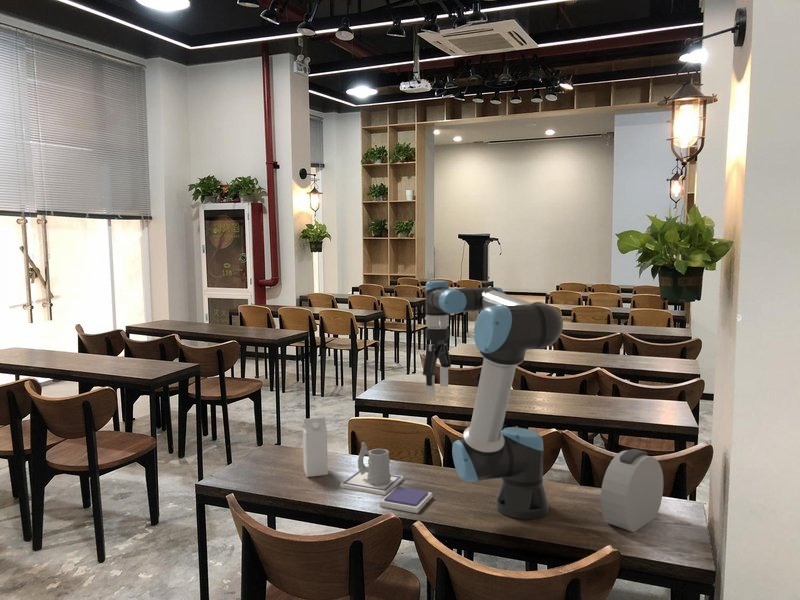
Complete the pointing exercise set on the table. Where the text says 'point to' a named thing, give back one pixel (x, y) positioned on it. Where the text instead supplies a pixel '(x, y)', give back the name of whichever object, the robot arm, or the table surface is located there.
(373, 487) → the board
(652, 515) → the alarm clock
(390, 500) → the ink pad
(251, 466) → the table surface
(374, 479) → the mug
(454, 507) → the table surface
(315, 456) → the milk carton
